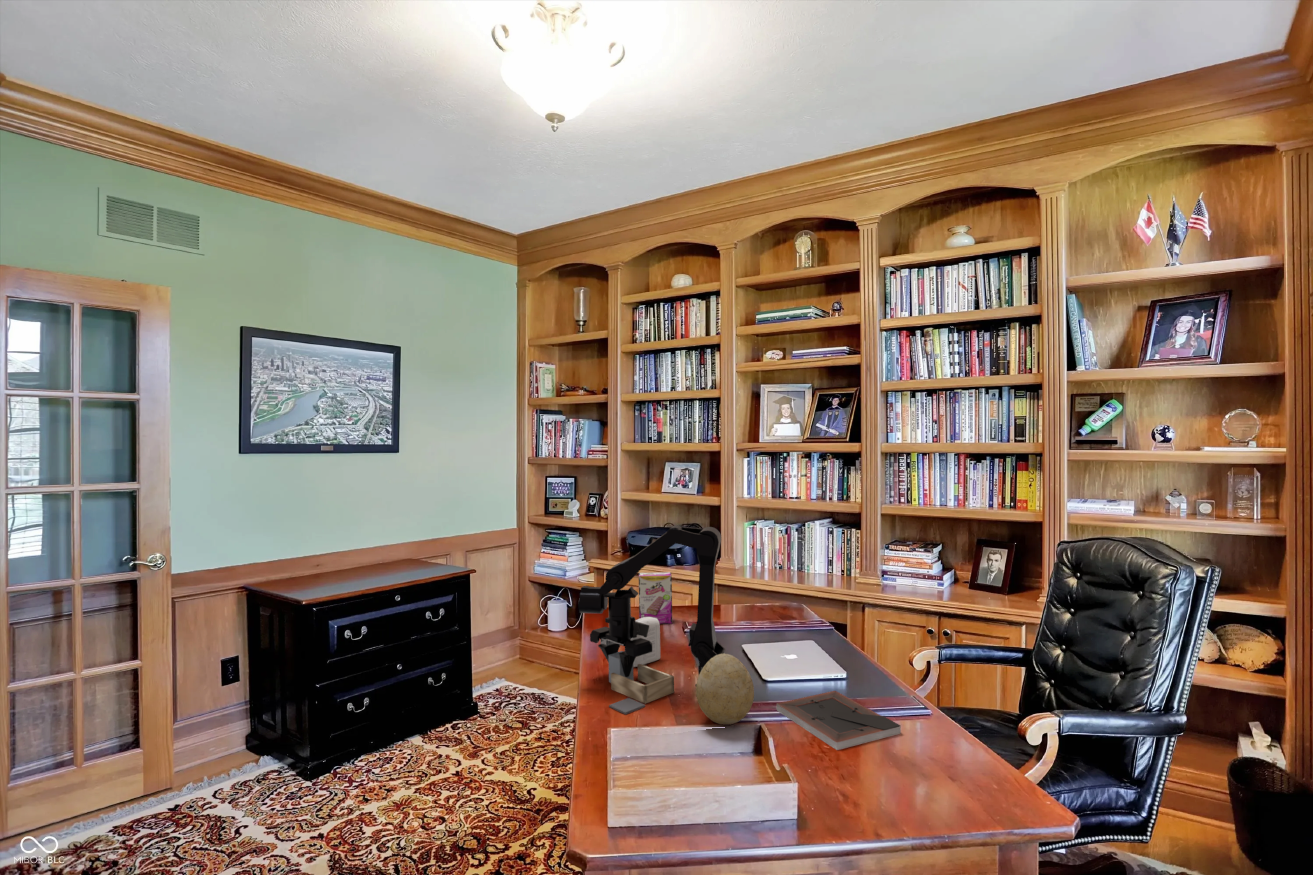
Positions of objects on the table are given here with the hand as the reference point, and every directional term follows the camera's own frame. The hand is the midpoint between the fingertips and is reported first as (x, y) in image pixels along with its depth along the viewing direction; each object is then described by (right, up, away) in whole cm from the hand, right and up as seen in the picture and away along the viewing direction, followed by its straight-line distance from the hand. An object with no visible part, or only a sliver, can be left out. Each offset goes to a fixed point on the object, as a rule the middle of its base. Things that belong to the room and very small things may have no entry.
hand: (621, 674), depth 177 cm
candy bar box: (+9, -1, +53) cm, 54 cm away
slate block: (0, -2, 0) cm, 2 cm away
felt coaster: (+2, -2, -15) cm, 16 cm away
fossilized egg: (+24, -2, -25) cm, 35 cm away
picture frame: (+48, -2, -26) cm, 55 cm away
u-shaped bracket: (+5, -2, -6) cm, 8 cm away
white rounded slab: (+6, -2, +15) cm, 16 cm away
